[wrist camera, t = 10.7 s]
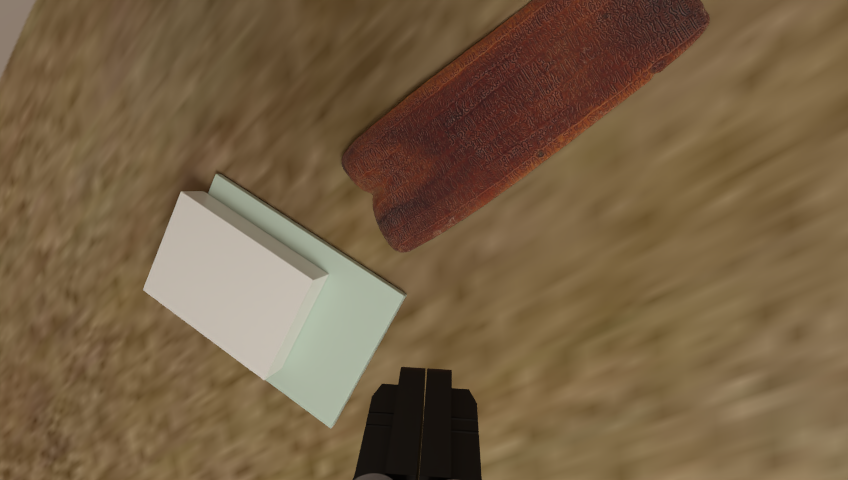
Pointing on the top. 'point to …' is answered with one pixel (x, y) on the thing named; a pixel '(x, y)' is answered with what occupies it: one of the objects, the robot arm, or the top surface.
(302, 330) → the cutting board
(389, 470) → the robot arm
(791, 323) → the top surface
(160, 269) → the white rectangular block
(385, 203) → the wooden tablet
